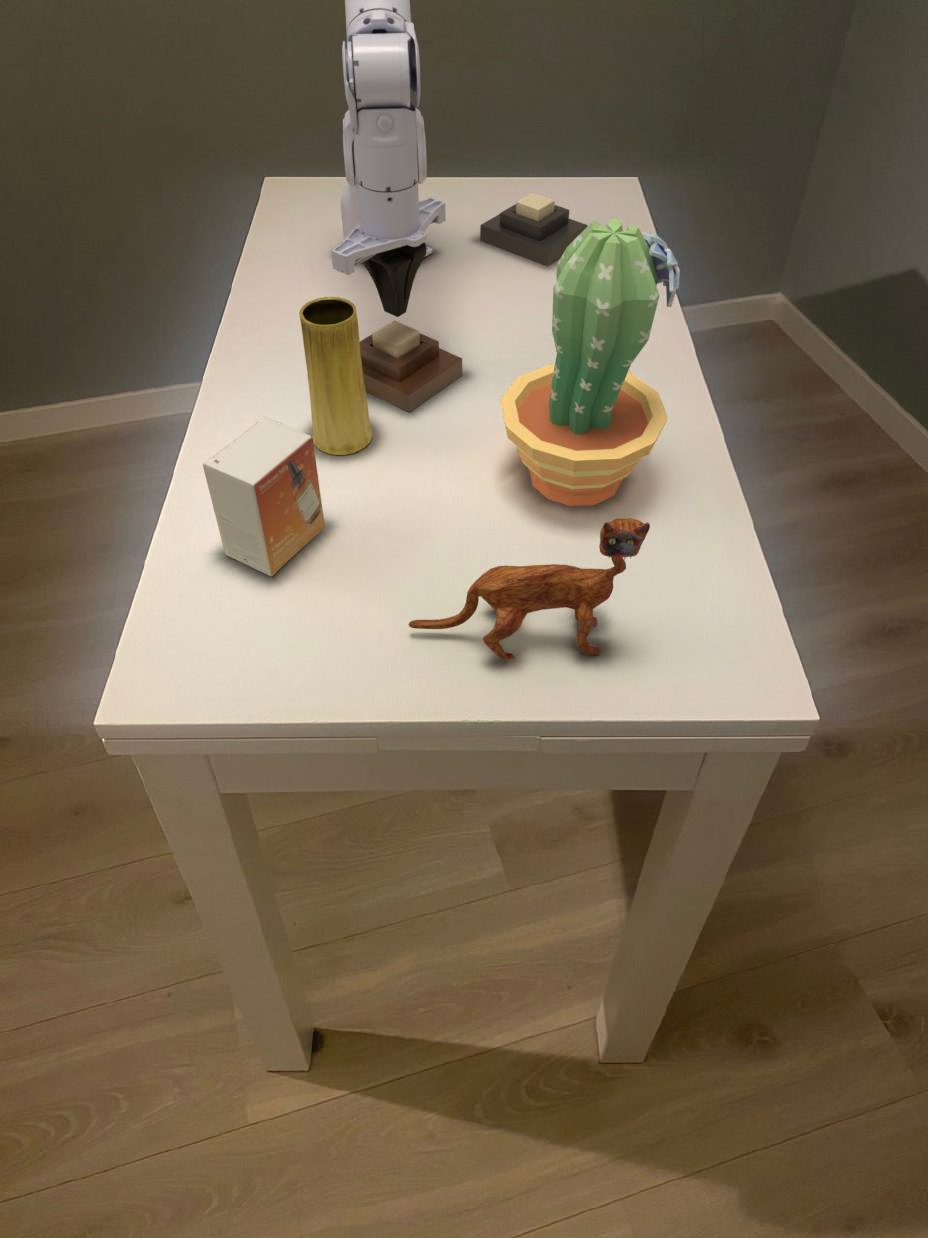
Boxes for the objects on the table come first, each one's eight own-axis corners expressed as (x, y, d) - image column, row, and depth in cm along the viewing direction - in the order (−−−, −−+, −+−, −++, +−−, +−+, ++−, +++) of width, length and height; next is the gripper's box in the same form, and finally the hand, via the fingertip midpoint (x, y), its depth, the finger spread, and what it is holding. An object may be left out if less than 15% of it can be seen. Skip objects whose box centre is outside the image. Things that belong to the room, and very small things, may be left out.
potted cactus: (650, 538, 86) (703, 285, 67) (484, 518, 88) (491, 265, 69) (657, 437, 96) (705, 192, 77) (509, 420, 98) (521, 177, 79)
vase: (383, 428, 97) (373, 302, 86) (354, 462, 93) (340, 334, 82) (332, 414, 98) (316, 288, 88) (301, 446, 95) (281, 319, 84)
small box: (271, 579, 82) (252, 487, 74) (223, 555, 84) (199, 463, 76) (327, 527, 87) (314, 434, 79) (280, 505, 89) (263, 413, 81)
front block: (334, 375, 103) (330, 343, 100) (388, 341, 108) (386, 309, 105) (409, 413, 99) (407, 380, 96) (462, 375, 103) (462, 343, 100)
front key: (373, 348, 100) (371, 333, 99) (395, 334, 102) (394, 319, 101) (398, 360, 99) (397, 345, 98) (420, 345, 101) (419, 331, 100)
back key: (515, 215, 122) (516, 201, 120) (531, 205, 124) (532, 192, 122) (537, 223, 120) (538, 209, 119) (553, 213, 122) (555, 199, 121)
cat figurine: (406, 664, 76) (398, 541, 66) (411, 605, 80) (404, 481, 70) (628, 668, 76) (655, 545, 65) (620, 608, 80) (644, 484, 70)
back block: (479, 240, 124) (480, 211, 121) (520, 217, 129) (521, 187, 126) (547, 266, 120) (549, 236, 117) (586, 240, 125) (589, 211, 122)
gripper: (366, 218, 82) (376, 354, 92) (469, 165, 90) (468, 295, 100) (309, 196, 85) (325, 330, 95) (413, 146, 93) (418, 275, 103)
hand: (395, 311), depth 98 cm, fingers closed
